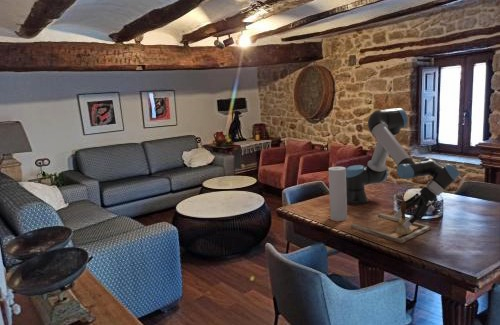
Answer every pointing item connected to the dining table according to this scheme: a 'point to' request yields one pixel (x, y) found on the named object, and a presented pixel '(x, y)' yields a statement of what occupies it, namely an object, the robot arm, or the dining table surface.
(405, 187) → the dining table surface
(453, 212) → the dining table surface
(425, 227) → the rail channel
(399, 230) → the hand bell
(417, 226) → the tan wooden strip
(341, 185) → the cylinder container
